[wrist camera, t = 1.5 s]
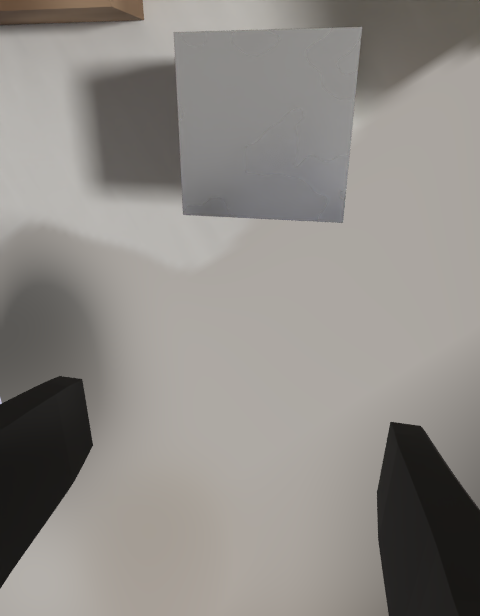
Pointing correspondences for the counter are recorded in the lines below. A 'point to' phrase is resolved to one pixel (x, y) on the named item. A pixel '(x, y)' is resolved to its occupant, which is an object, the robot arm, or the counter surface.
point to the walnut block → (69, 11)
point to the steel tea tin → (266, 121)
